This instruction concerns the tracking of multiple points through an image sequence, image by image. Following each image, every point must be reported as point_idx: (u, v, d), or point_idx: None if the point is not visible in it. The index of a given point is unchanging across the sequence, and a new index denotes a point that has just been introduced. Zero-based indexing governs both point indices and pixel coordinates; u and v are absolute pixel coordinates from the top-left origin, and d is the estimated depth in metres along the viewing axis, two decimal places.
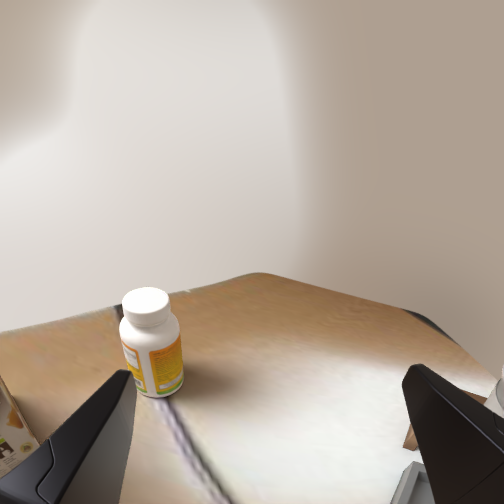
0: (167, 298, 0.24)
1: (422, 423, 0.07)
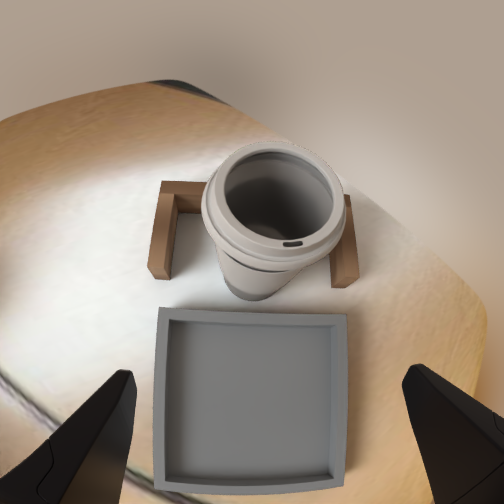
0: None
1: (422, 423, 0.07)
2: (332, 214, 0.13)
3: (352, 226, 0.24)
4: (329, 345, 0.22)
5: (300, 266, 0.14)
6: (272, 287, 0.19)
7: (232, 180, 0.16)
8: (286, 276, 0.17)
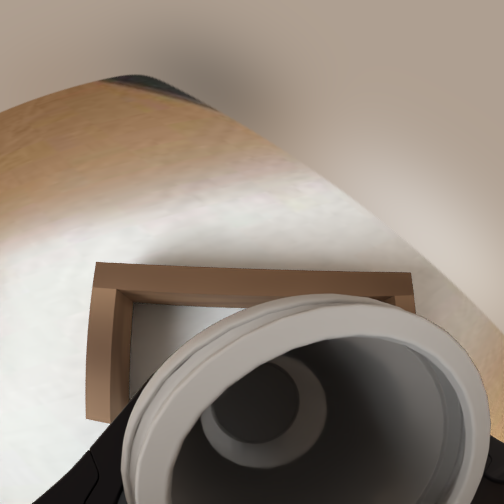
0: None
1: None
2: (457, 503, 0.03)
3: None
4: None
5: None
6: None
7: None
8: None
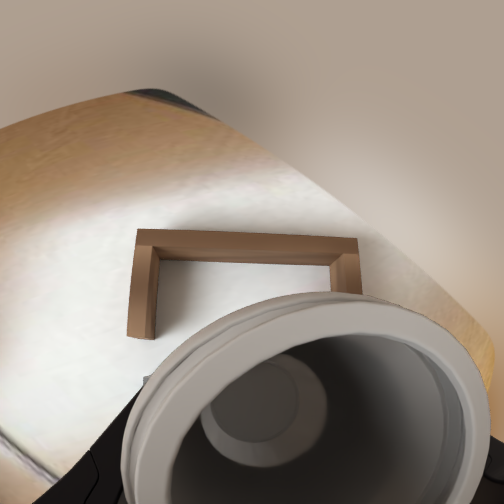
0: None
1: None
2: (458, 502, 0.03)
3: (359, 278, 0.20)
4: None
5: None
6: None
7: None
8: None
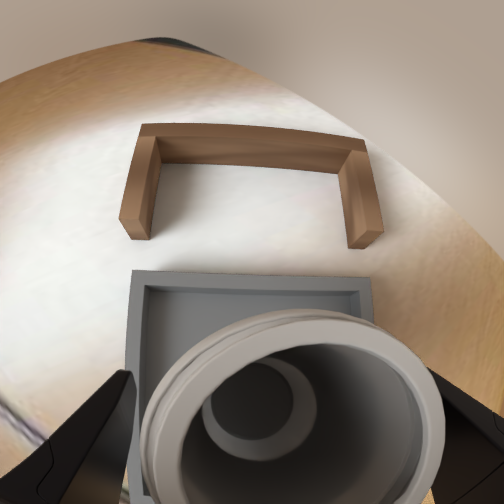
0: None
1: None
2: (417, 487, 0.04)
3: (370, 173, 0.19)
4: None
5: None
6: None
7: None
8: None
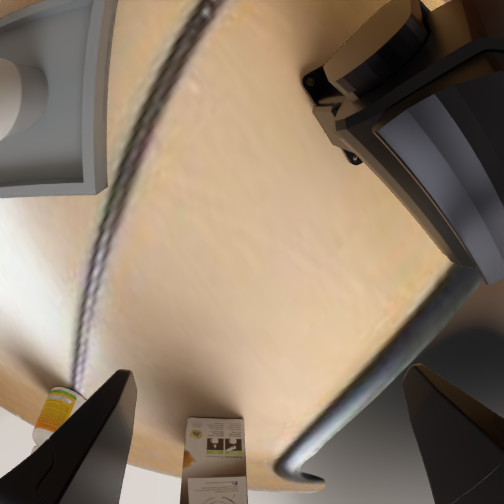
0: None
1: (422, 423, 0.07)
2: None
3: None
4: None
5: None
6: (3, 82, 0.10)
7: None
8: None
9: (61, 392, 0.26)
